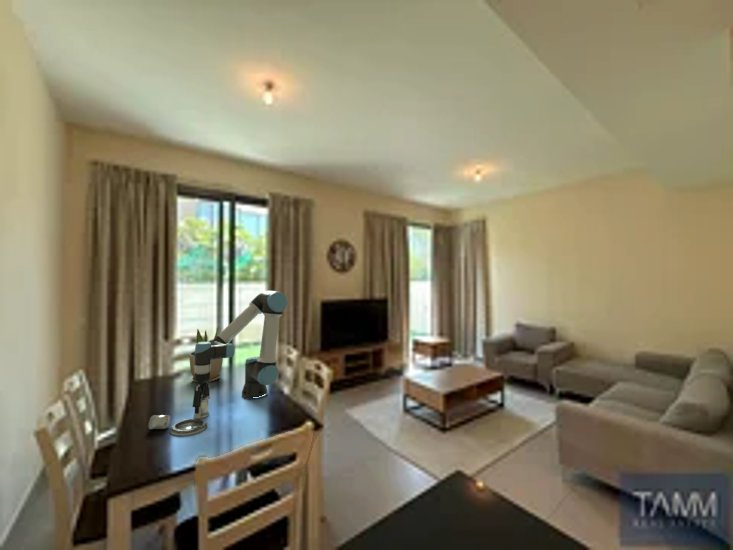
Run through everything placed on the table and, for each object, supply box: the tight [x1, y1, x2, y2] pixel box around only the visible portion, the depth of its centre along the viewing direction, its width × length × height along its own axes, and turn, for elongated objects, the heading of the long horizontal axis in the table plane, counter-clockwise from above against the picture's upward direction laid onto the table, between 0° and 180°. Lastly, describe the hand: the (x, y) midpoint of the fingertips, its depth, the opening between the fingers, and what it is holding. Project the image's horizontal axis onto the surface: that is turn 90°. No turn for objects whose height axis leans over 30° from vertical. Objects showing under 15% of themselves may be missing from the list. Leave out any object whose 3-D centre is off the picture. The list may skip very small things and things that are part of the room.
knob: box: [200, 396, 210, 419], centre depth 181 cm, size 7×7×9 cm
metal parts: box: [148, 414, 209, 437], centre depth 165 cm, size 25×16×6 cm, turn 95°
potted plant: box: [188, 322, 224, 384], centre depth 240 cm, size 21×22×40 cm
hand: (201, 415), depth 181 cm, fingers open, 9 cm apart
